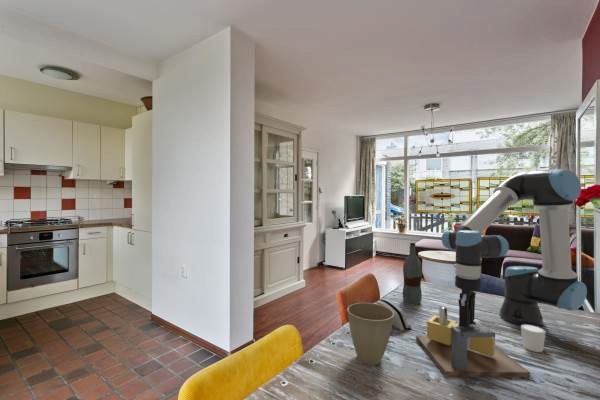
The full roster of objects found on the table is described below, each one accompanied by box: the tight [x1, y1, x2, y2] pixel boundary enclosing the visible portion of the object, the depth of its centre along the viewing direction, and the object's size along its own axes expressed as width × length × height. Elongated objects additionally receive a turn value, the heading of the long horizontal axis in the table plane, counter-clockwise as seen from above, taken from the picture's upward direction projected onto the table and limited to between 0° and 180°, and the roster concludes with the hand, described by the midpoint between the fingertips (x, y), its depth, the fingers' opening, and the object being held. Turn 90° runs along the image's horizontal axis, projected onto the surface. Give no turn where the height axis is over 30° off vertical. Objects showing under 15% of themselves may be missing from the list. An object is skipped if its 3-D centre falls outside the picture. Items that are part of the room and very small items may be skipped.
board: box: [415, 335, 531, 378], centre depth 97 cm, size 25×22×2 cm
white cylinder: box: [520, 324, 547, 353], centre depth 102 cm, size 7×7×7 cm
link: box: [426, 314, 496, 357], centre depth 99 cm, size 20×8×6 cm, turn 48°
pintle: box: [438, 306, 448, 344], centre depth 103 cm, size 2×2×14 cm
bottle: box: [402, 242, 423, 306], centre depth 146 cm, size 9×9×30 cm
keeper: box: [451, 325, 496, 371], centre depth 87 cm, size 11×4×13 cm, turn 90°
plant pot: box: [347, 302, 394, 366], centre depth 95 cm, size 15×15×16 cm
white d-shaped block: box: [375, 298, 412, 332], centre depth 123 cm, size 17×5×10 cm, turn 17°
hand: (466, 344), depth 98 cm, fingers closed on link, 3 cm apart
